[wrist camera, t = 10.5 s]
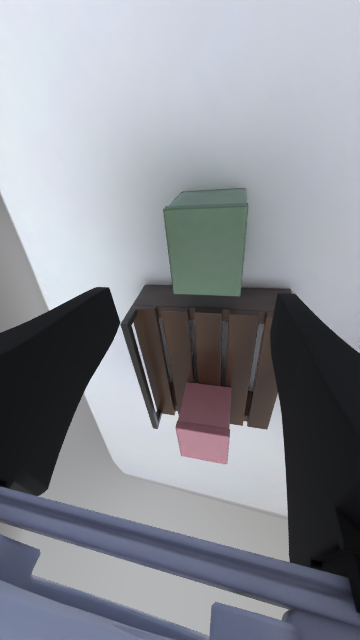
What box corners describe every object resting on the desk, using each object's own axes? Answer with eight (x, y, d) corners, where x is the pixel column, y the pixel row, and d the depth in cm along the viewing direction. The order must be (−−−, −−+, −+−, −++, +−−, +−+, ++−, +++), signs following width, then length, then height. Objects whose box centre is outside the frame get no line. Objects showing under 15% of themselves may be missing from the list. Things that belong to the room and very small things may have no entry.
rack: (290, 289, 20) (304, 336, 15) (264, 398, 30) (268, 448, 25) (144, 284, 23) (119, 324, 18) (165, 386, 32) (152, 428, 28)
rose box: (231, 386, 23) (229, 437, 19) (229, 417, 27) (227, 465, 23) (186, 381, 24) (175, 428, 20) (189, 411, 28) (180, 456, 24)
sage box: (247, 187, 16) (248, 205, 12) (241, 264, 19) (240, 297, 16) (180, 190, 17) (162, 209, 13) (186, 263, 20) (172, 294, 17)
